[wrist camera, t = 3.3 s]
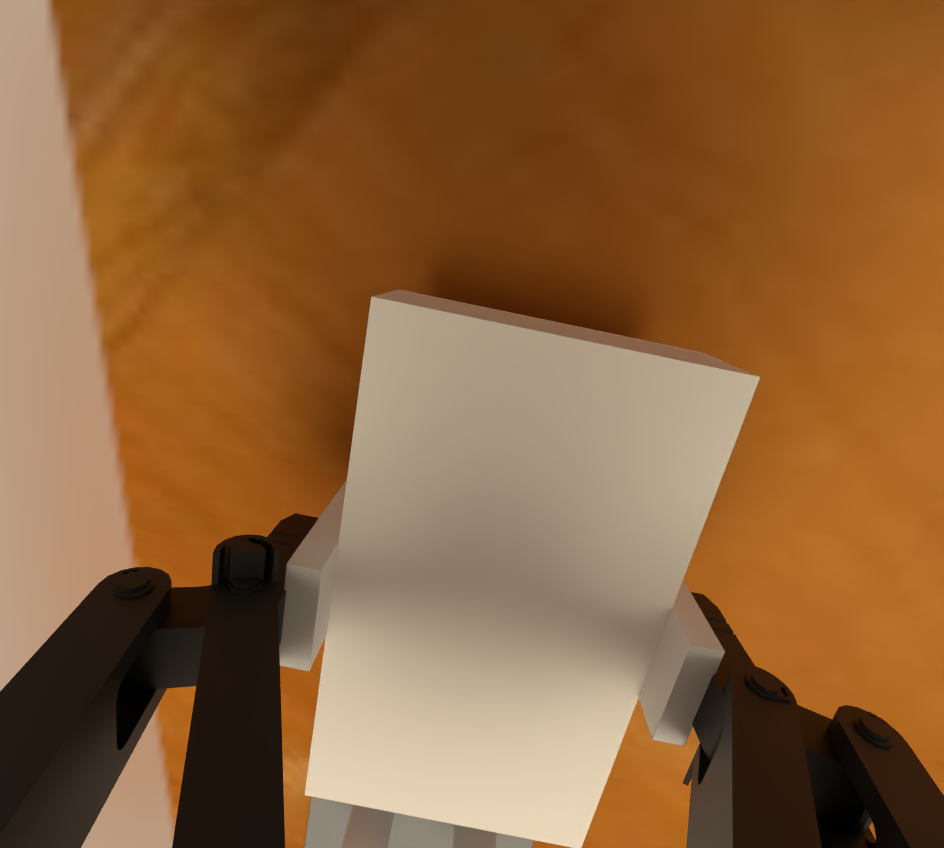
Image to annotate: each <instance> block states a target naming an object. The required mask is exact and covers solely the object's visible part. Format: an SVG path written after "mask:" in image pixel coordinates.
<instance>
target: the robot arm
mask: <svg viewBox="0 0 944 848" xmlns="http://www.w3.org/2000/svg"><path fill="white" fill-rule="evenodd" d="M346 482H347V479H346V481H345V482H344V483H343V485H342V486H341V488H340V489H339V490H338V492H337V493H336V495H335V496H334V498H333V499H332V500H331V502H330V503H329V505H328V506H327V507H326V509H325V510H324V512H323V513H322V515H321V516H320V517H319V518H316V517H311V516H306V515H301V514H296V513H295V514H293V515H291V516H289V517H287V518H285V519H283V520H281V521H280V522H279V524H278V525H277V526H276V527H275V528H274V529H273V531H272V533H270V534H269V535H268V537H264V536H261V535H240V536H235V537H232V538H229V539H226V540H224V541H223V542H221V543H220V544H218V545H217V546H216V548H215V550H214V552H213V565H212V585H209V586H203V587H177V588H171V579H170V577H169V574H167V573H165V572H164V571H162V570H160V569H156V568H151V567H135V568H130V569H126V570H121V571H119V572H117V573H114V574H112V575H109V576H107V577H106V578H105V579H104V580H102V581H101V582H100V583H98V585H97V586H96V587H95V588H94V589H93V590H92V591H91V592H90V593H89V594H88V596H87V597H86V598H85V599H84V600H83V601H82V602H81V604H79V606H78V607H77V608H76V609H75V610H74V611H73V612H72V613H71V614H70V615H69V617H68V618H67V619H66V620H65V621H64V622H63V623H62V624H61V625H60V626H59V628H58V629H57V630H56V631H55V632H54V633H53V634H52V635H51V636H50V637H49V639H48V640H47V641H46V642H45V643H44V644H43V645H42V646H41V647H40V648H39V650H38V651H37V652H36V653H35V654H34V655H33V656H32V657H31V658H30V659H29V661H28V662H27V663H26V664H25V665H24V666H23V667H22V668H21V669H20V671H19V672H18V673H17V674H16V675H15V676H14V677H13V678H12V679H11V680H10V682H9V683H8V684H7V685H6V686H5V687H4V688H3V689H2V690H1V691H0V848H81V846H82V844H83V843H84V841H85V839H86V837H87V835H88V833H89V832H90V830H91V828H92V826H93V824H94V822H95V820H96V819H97V817H98V815H99V813H100V811H101V809H102V808H103V806H104V804H105V802H106V800H107V798H108V796H109V795H110V793H111V790H112V789H113V787H114V785H115V783H116V782H117V780H118V778H119V776H120V774H121V772H122V770H123V769H124V767H125V765H126V763H127V761H128V759H129V757H130V755H131V754H132V752H133V750H134V748H135V746H136V745H137V743H138V740H139V739H140V737H141V735H142V733H143V732H144V730H145V728H146V726H147V724H148V722H149V720H150V719H151V717H152V715H153V713H154V711H155V709H156V707H157V706H158V704H159V702H160V700H161V698H162V696H163V695H164V693H165V691H166V689H167V688H175V687H188V686H196V692H195V699H194V706H193V712H192V719H191V726H190V733H189V739H188V746H187V753H186V759H185V766H184V773H183V779H182V786H181V793H180V799H179V806H178V813H177V819H176V826H175V833H174V839H173V846H172V848H285V832H284V797H283V761H282V726H281V691H280V666H285V667H290V668H295V669H300V670H305V671H310V669H311V667H312V664H313V662H314V660H315V658H316V656H317V654H318V651H319V649H320V647H321V645H322V643H323V641H324V639H325V636H326V634H327V628H328V621H329V613H330V606H331V598H332V591H333V583H334V576H335V568H336V561H337V553H338V546H339V535H340V527H341V520H342V512H343V505H344V497H345V490H346ZM639 699H640V702H641V706H642V709H643V712H644V715H645V718H646V721H647V724H648V727H649V731H650V734H651V737H652V740H657V741H662V742H667V743H672V744H677V745H682V746H685V743H686V741H687V739H688V736H689V734H690V732H691V730H692V727H694V729H695V732H696V734H697V736H698V739H699V741H700V744H699V747H698V749H697V751H696V753H695V756H694V758H693V760H692V762H691V765H690V767H689V769H688V772H687V774H686V776H685V778H684V781H683V783H684V784H685V785H687V786H688V784H689V782H690V780H691V779H692V784H691V797H690V809H689V822H688V834H687V847H686V848H944V796H943V794H942V793H941V791H940V790H939V788H938V787H937V785H936V784H935V782H934V781H933V780H932V778H931V777H930V775H929V774H928V772H927V771H926V769H925V768H924V766H923V765H922V764H921V762H920V761H919V759H918V758H917V756H916V755H915V753H914V752H913V750H912V749H911V747H910V746H909V745H908V743H907V742H906V741H905V740H904V739H903V737H902V736H901V735H900V734H899V733H898V732H897V731H896V730H895V729H894V728H892V727H891V726H890V725H889V724H888V723H887V722H885V721H884V720H883V719H881V718H880V717H877V716H876V715H874V714H872V713H870V712H867V711H865V710H863V709H860V708H858V707H853V706H847V705H846V706H841V707H839V708H838V710H837V712H836V713H835V715H834V717H833V719H829V718H827V717H825V716H822V715H820V714H818V713H815V712H813V711H810V710H808V709H806V708H803V707H801V706H799V705H797V702H796V700H795V697H794V695H793V693H792V692H791V691H790V690H789V688H788V687H787V686H786V685H785V684H784V683H783V682H782V681H780V680H779V679H778V678H776V677H775V676H774V675H772V674H770V673H769V672H767V671H765V670H763V669H761V668H758V667H755V665H754V664H753V662H752V661H751V659H750V658H749V656H748V654H747V653H746V651H745V650H744V648H743V647H742V645H741V643H740V642H739V640H738V639H737V637H736V635H734V634H733V631H732V629H731V628H730V626H729V624H727V623H726V620H725V618H724V617H723V615H722V613H721V612H720V610H719V609H718V607H717V606H715V605H714V604H713V603H712V602H711V601H710V600H709V599H708V598H707V597H706V596H704V595H703V594H698V593H693V592H690V590H689V589H688V587H687V585H686V583H685V582H684V580H683V581H682V584H681V587H680V589H679V592H678V595H677V597H676V600H675V603H674V605H673V608H672V609H671V612H670V614H669V617H668V620H667V622H666V625H665V627H664V630H663V633H662V635H661V638H660V641H659V643H658V646H657V648H656V651H655V654H654V656H653V659H652V662H651V664H650V667H649V670H648V672H647V675H646V677H645V680H644V683H643V685H642V688H641V691H640V693H639ZM871 822H873V825H874V827H875V833H876V840H875V838H874V836H873V834H872V832H871V830H870V828H869V826H870V824H871Z"/></svg>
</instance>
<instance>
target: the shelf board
mask: <svg viewBox="0 0 944 848" xmlns="http://www.w3.org/2000/svg"><path fill="white" fill-rule="evenodd" d="M759 379H760V377H759V376H757V375H754V374H752V373H750V372H747V371H745V370H743V369H741V368H738V367H736V366H734V365H731V364H729V363H727V362H725V361H722V360H720V359H718V358H715V357H713V356H711V355H709V354H706V353H704V352H699V351H695V350H690V349H685V348H680V347H675V346H670V345H666V344H661V343H656V342H651V341H646V340H642V339H637V338H632V337H627V336H622V335H617V334H613V333H608V332H603V331H598V330H593V329H588V328H584V327H579V326H574V325H569V324H564V323H560V322H555V321H550V320H545V319H540V318H535V317H531V316H526V315H521V314H516V313H511V312H506V311H502V310H497V309H492V308H487V307H482V306H478V305H473V304H468V303H463V302H458V301H453V300H449V299H444V298H439V297H434V296H429V295H425V294H420V293H415V292H410V291H405V290H400V289H398V290H394V291H391V292H387V293H383V294H379V295H375V296H371V303H370V310H369V318H368V325H367V333H366V340H365V348H364V355H363V363H362V370H361V377H360V385H359V392H358V400H357V407H356V415H355V422H354V430H353V437H352V445H351V452H350V460H349V467H348V475H347V482H346V490H345V497H344V505H343V512H342V520H341V527H340V535H339V546H338V553H337V561H336V568H335V576H334V583H333V591H332V598H331V606H330V613H329V621H328V628H327V634H326V639H325V647H324V654H323V662H322V669H321V677H320V684H319V692H318V699H317V707H316V714H315V722H314V729H313V737H312V744H311V752H310V759H309V767H308V774H307V782H306V789H305V795H307V796H312V797H318V798H323V799H328V800H333V801H338V802H343V803H348V804H353V805H358V806H363V807H369V808H374V809H379V810H384V811H389V812H394V813H399V814H404V815H409V816H414V817H419V818H425V819H430V820H435V821H440V822H445V823H450V824H455V825H460V826H465V827H470V828H476V829H481V830H486V831H491V832H496V833H501V834H506V835H511V836H516V837H521V838H526V839H532V840H537V841H542V842H547V843H552V844H557V845H562V846H567V847H572V848H581V847H582V845H583V842H584V839H585V837H586V834H587V831H588V829H589V826H590V824H591V821H592V818H593V816H594V813H595V810H596V808H597V805H598V803H599V800H600V797H601V795H602V792H603V789H604V787H605V784H606V781H607V779H608V776H609V774H610V771H611V768H612V766H613V763H614V760H615V758H616V755H617V753H618V750H619V747H620V745H621V742H622V739H623V737H624V734H625V731H626V729H627V726H628V724H629V721H630V718H631V716H632V713H633V710H634V708H635V705H636V703H637V700H638V697H639V693H640V691H641V688H642V685H643V683H644V680H645V677H646V675H647V672H648V670H649V667H650V664H651V662H652V659H653V656H654V654H655V651H656V648H657V646H658V643H659V641H660V638H661V635H662V633H663V630H664V627H665V625H666V622H667V620H668V617H669V614H670V612H671V609H672V608H673V605H674V603H675V600H676V597H677V595H678V592H679V589H680V587H681V584H682V581H683V579H684V576H685V574H686V571H687V568H688V566H689V563H690V560H691V558H692V555H693V553H694V550H695V547H696V545H697V542H698V539H699V537H700V534H701V531H702V529H703V526H704V524H705V521H706V518H707V516H708V513H709V510H710V508H711V505H712V503H713V500H714V497H715V495H716V492H717V489H718V487H719V484H720V481H721V479H722V476H723V474H724V471H725V468H726V466H727V463H728V460H729V458H730V455H731V453H732V450H733V447H734V445H735V442H736V439H737V437H738V434H739V431H740V429H741V426H742V424H743V421H744V418H745V416H746V413H747V410H748V408H749V405H750V403H751V400H752V397H753V395H754V392H755V389H756V387H757V384H758V382H759Z"/></svg>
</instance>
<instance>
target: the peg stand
mask: <svg viewBox="0 0 944 848" xmlns="http://www.w3.org/2000/svg"><path fill="white" fill-rule="evenodd" d="M533 841H534V840H532V839H526V838H521V837H516V836H511V835H506V834H501V833H496V832H491V831H486V830H481V829H476V828H470V827H465V826H460V825H455V824H450V823H445V822H440V821H435V820H430V819H425V818H419V817H414V816H409V815H404V814H399V813H394V812H389V811H384V810H379V809H374V808H369V807H363V806H358V805H353V804H348V803H343V802H338V801H333V800H328V799H323V798H318V797H312V799H311V806H310V813H309V820H308V827H307V834H306V841H305V848H531V847H532V844H533Z"/></svg>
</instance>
